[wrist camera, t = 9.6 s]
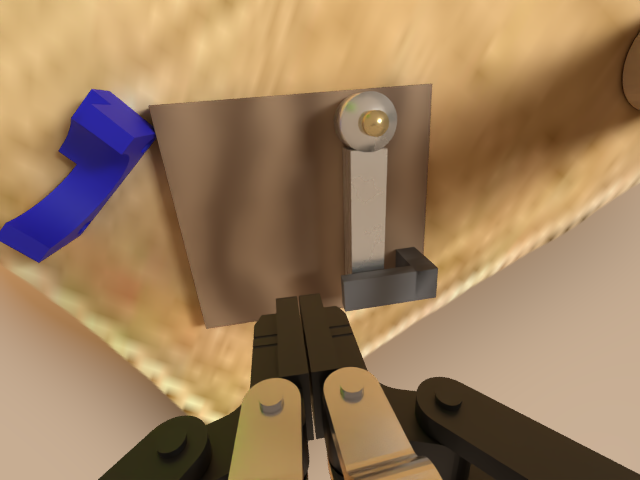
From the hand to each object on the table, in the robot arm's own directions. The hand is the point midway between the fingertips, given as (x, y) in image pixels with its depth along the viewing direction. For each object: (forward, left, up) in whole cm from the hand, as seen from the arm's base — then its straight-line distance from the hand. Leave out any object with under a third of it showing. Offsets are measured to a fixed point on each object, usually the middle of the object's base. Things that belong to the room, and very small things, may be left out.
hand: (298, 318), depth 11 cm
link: (-7, +1, -19) cm, 20 cm away
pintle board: (-2, +3, -21) cm, 21 cm away
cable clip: (+15, -3, -21) cm, 26 cm away
